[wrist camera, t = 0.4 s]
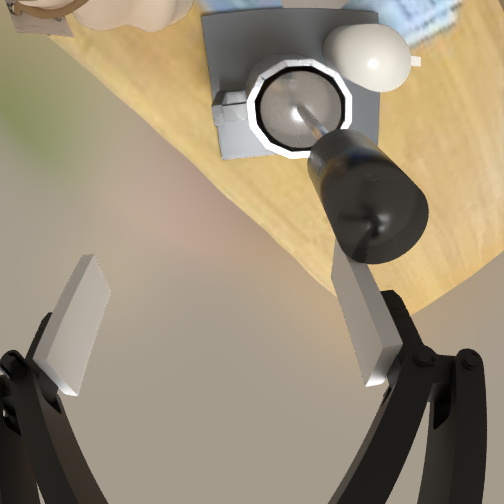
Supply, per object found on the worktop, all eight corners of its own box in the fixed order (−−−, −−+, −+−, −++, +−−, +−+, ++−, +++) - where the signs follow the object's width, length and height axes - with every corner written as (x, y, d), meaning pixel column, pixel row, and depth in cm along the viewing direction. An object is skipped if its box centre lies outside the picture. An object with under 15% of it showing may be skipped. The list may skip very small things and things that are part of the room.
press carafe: (214, 60, 33) (204, 68, 23) (319, 53, 32) (351, 59, 23) (224, 130, 39) (219, 165, 29) (322, 122, 38) (350, 154, 29)
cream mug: (320, 24, 30) (342, 20, 23) (393, 29, 29) (429, 32, 22) (324, 79, 34) (345, 91, 27) (394, 81, 34) (428, 95, 27)
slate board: (202, 17, 30) (201, 16, 29) (374, 13, 29) (377, 12, 28) (222, 157, 42) (222, 160, 41) (374, 146, 41) (377, 149, 41)
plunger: (256, 73, 24) (287, 136, 9) (337, 70, 24) (476, 138, 9) (263, 147, 29) (293, 301, 14) (338, 142, 29) (437, 281, 14)
